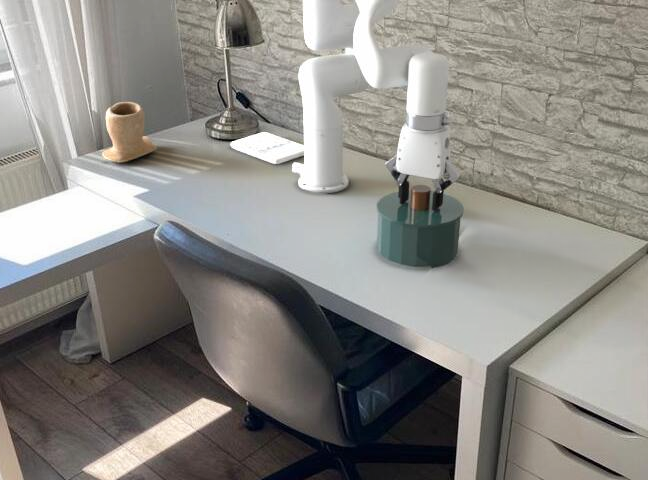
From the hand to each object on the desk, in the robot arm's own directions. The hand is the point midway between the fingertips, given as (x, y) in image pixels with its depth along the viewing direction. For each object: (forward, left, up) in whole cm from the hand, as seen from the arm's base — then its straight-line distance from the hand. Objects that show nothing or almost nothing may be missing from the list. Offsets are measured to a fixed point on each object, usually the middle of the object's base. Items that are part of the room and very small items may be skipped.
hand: (420, 204), depth 163 cm
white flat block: (-60, +38, -11) cm, 72 cm away
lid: (0, 0, -1) cm, 1 cm away
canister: (0, 0, -11) cm, 11 cm away
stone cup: (-91, +16, -11) cm, 93 cm away
